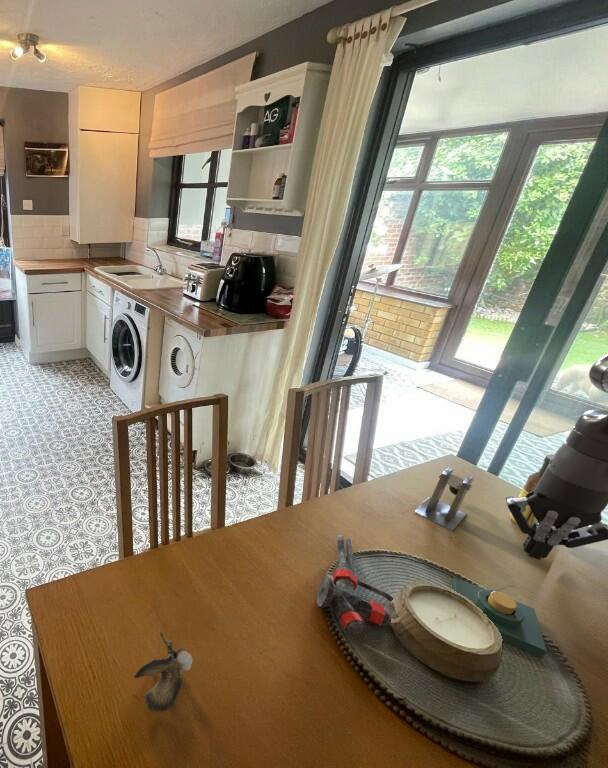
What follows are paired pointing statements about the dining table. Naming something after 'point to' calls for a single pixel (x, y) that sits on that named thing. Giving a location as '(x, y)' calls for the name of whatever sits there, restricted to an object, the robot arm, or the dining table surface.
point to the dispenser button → (502, 602)
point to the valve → (350, 595)
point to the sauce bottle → (530, 487)
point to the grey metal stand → (441, 511)
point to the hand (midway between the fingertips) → (532, 555)
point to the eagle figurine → (165, 677)
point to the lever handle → (454, 483)
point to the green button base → (507, 620)
